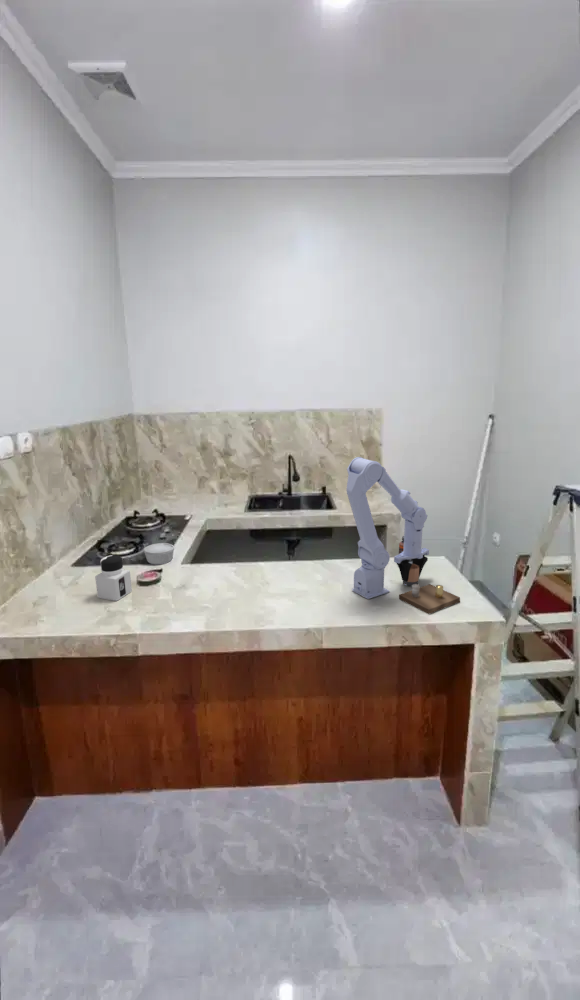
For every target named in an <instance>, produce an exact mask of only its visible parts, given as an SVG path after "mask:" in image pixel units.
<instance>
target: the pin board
mask: <svg viewBox="0 0 580 1000" xmlns="http://www.w3.org/2000/svg"><path fill="white" fill-rule="evenodd" d="M411 587H412V588H411V590H408V591H406V592H402V593H400V594H398V600H400V601H402V602H404V603H406V604H408V605H410V606H412V607H414V608H415V609H418V610H420V611H422V612H424V613H425V614H427V615H430V614H433V613H436V612H438V611H440V610H443V609H445V607H446V608H449V607H452V606H453V605H455V603H456V604H458V603H460V602H461V597H460V596H458V595H456V594H453V593H451V592H449V591H447V590H444V589H443V598H436V597H435V592H436V585H433V584H430V583H428V584H427V585H422V586H421V585H420V584H419V583H418V584H413V585H412V586H411Z"/></svg>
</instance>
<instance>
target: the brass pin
mask: <svg viewBox="0 0 580 1000" xmlns="http://www.w3.org/2000/svg"><path fill="white" fill-rule="evenodd" d="M435 587H436V592H435V597H436V598H443V590H444V585H442V584H437V585H435Z"/></svg>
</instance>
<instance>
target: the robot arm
mask: <svg viewBox="0 0 580 1000" xmlns="http://www.w3.org/2000/svg"><path fill="white" fill-rule="evenodd" d="M346 470H347V474H348V476H347V483H346V490H345V491H346V494H347V495H346V496H347V498H348V501H349V505H350V508H351V511H352V515H353V518H354V522H355V525H356V528H357V532H358V535H359V540H358V541H357V545H358V546H357V547H358V549H357V554H358V557H359V559H361V565H360V567H359V568H357V569H355V570H354V573H353V588H352V589H351V591H353V592H354V593H356V594H358V595H360V596H361V597H364V598H365V599H366V600H369V599H372V598H376V597H378V596H382V595H384V594H387V593H390V589H387V588H385V587H384V586H385V569H386V567H387V565H388V564H389V562H390V558H391V557H390V554H389V551H387V550H386V548H385V545H384V544H383V542H382V541H381V540H380V538H379V536H378V533H377V530H376V526H375V523H374V519H373V516H372V512H371V509H370V503H369V501H368V497H367V492H368V491H369V490H370V489H372V487H373V486H374V485H375V484H376V483H377V484H379V485H380V487H382V488H383V489H384V490H385V491H386V492H387V493H388V494H389V495H390V496H391V497H390V501H391V503H392V504H393V506H395V508H397V510H398V511H399V512H400V516H401V518H402V519H404V534H403V536H404V549H403V552H402V553H400V554H399V553H398V554H396V555H394V557H393V559H394V560H393V563H395V564H396V565H397V567H398V570H399V572H400V577H401V580H402V581H403V580H404V581H406V582H407V581H408V578H409V571H410V568H411V566H412V564H411V563H408V560H409V559H412V560H413V564H416V565H418V566H419V578H420V576H421V574H422V571H423V568H424V566H425V565H426V563H427V562H428V560H429V559H428V557H427V556H429V555H430V549H429V548H426V547H423V548H422V542H423V541H422V540H423V528H424V527H425V523H426V521H427V519H428V514H427V512H426V510H425V508H424V507H422V506H419V504H418V503H419V502H418V501H417V500H415V499H414V498H413V497H412V496H411V492H410V491H409V490H406V489H401V488H400V487H398V485H397V484H396V483H395V481H394V480H393V478H392V477H391V476H390V475H389V473H388V472H387V470H386V468H385V467H384V466H382V464H381V463H380V462H378V461H376V460H371V459H367V458H364V457H361V456H357V457H355V458H353V459H352V460H351V461H350V462H349V465H348V467H347V468H346Z"/></svg>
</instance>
